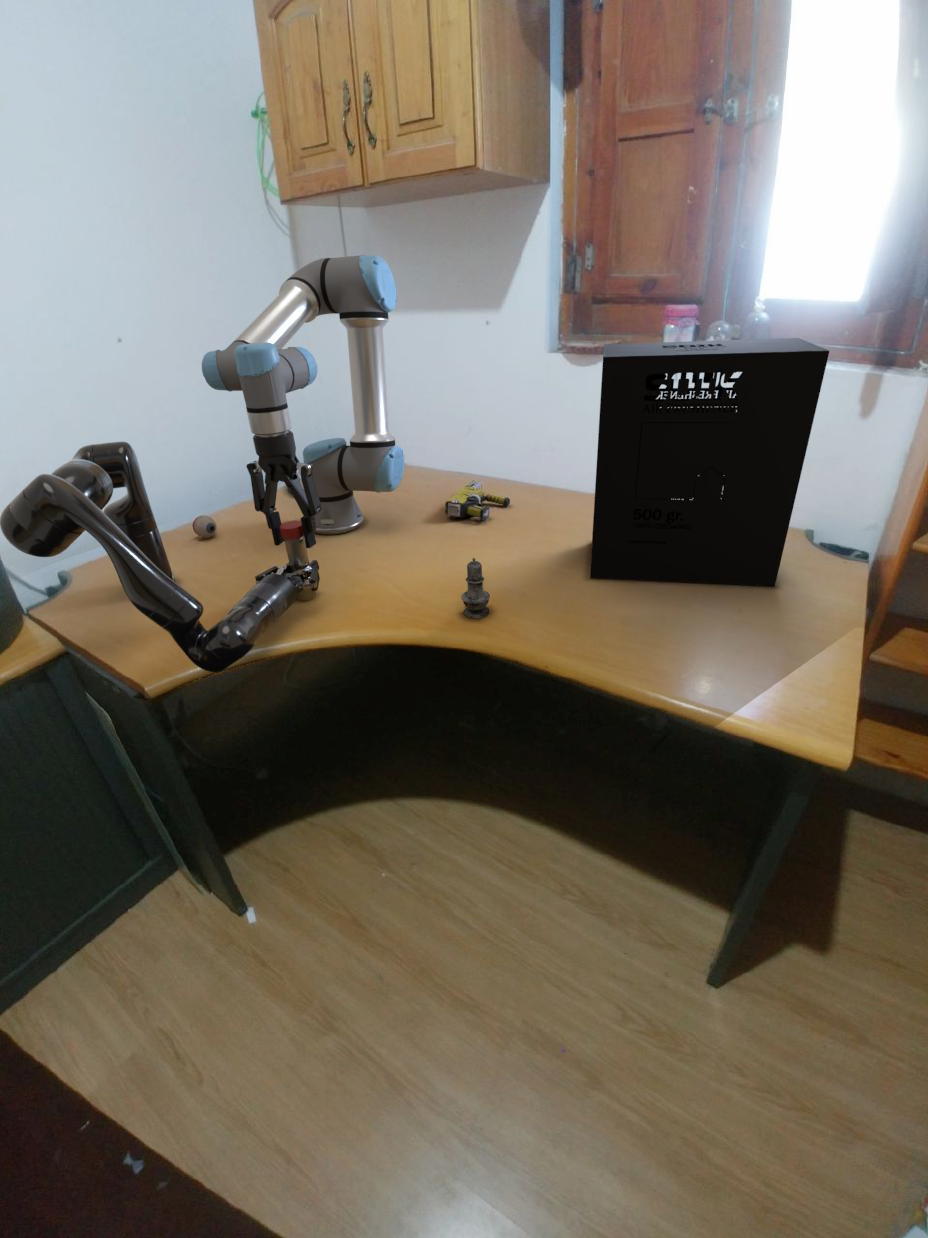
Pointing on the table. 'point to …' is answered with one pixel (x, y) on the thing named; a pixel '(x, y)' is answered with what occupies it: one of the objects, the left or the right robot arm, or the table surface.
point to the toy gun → (472, 502)
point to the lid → (291, 530)
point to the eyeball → (204, 526)
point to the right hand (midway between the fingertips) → (295, 544)
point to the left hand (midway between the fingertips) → (305, 563)
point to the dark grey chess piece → (475, 592)
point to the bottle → (299, 563)
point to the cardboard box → (701, 458)
